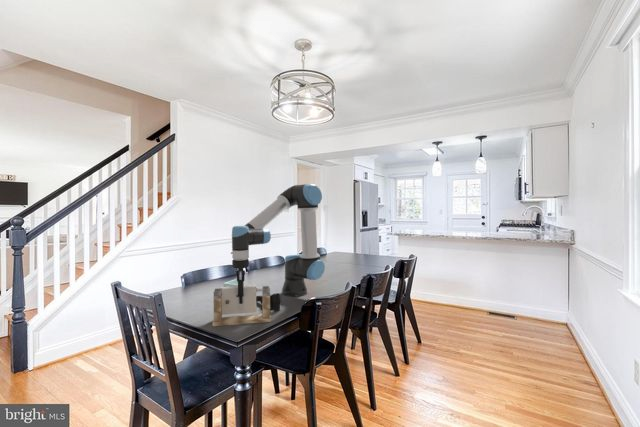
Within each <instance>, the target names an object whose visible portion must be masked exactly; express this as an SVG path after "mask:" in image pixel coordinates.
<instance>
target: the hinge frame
mask: <svg viewBox="0 0 640 427" xmlns="http://www.w3.org/2000/svg"><path fill="white" fill-rule="evenodd" d="M262 288H263V291H262V296H263V302H262V304H261V305H262V308H261V309H262V312H261V314H251V315H250V314H249V315H240V316H239V315H237V316H224V317H223V315H222V288H221V287H220V288H215V289H214V291H213V320H212V326H211V327H220V326H222V327H223V326H232V325H245V324H246V325H247V324H248V325H249V324H257V323H258V324H259V323H270V322H272V316H271V308H270V295H271V288H270V286H269V285H263V286H262Z"/></svg>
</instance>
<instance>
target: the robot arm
mask: <svg viewBox="0 0 640 427" xmlns="http://www.w3.org/2000/svg"><path fill="white" fill-rule="evenodd" d="M322 199H323V195H322V190H321V189H320V188H319V187H318V185H316V184H315V183H314V184H313V183H306V184H295V185H292V186H290V187H288V188H287V189H285V190H284V191H283V192H281V193H280V194H279V195H277V197H276V200H274V201H273V202H272V203H271V204H269V205H268V206H267V207H266V208H264V209H263V210H262V211H261V212H259V213H258V214H257V215H256V216H255V217H253V218H252V219H251V220H250V221H249V222H246V224H244V225H235V226H232V228H231V248H232V249H231V252H230V255H232V258H231V260H232V262H231V263H232V264H231V265H232V266H231V267H232V268H233V269H237V270H236V271H235V272H236V279H237V282H238V295H236V297H238V311H240V310H244V292H243V286H245V285H244V283H245V277H246V276H245V275H246V271H245V270H244V269H246V268H249V266H250V260H249V258H250V254H249V253H250V249H249V246H253V245H254V246H255V245H265V244H268V243H270V241H271V237H272V236H271V235H272V234H271V232H270V231H271V230H269V228H265V227H266V226H268V225H269V224H270V223H271V222H273V221H274V220H275V219H276V218H278V216H280V214H282V213H283V212H284V211H285V210H289V209H290V208H292V207H294V206H297V210H299V212H300V227H301V228H300V230H301V232H300V233H301V250H302V251H301V252H302V253H301V254H289V255H286V256H285V258H284V282H283V285H282V288H281V294H282V295H283V296H287V297H301V296H304V295H306V294H307V293H308V288H307V285H306V282H305V280H309V281H317V280H319V279H320V278H322V277H323V275H324V273H325V270H326V269H325V268H326V266H325V262H324V261H323V260H321V254H319V253H318V240H317V238H318V237H317V215H316V214H317V212H316V211H317V210H318V208H319V204H321V201H322Z"/></svg>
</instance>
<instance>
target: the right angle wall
mask: <svg viewBox="0 0 640 427" xmlns="http://www.w3.org/2000/svg"><path fill="white" fill-rule="evenodd" d="M230 286H238V282H237V278H235V279H232V280H229V281H227V282H223V286H222V287H230Z"/></svg>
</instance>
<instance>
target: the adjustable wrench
mask: <svg viewBox="0 0 640 427" xmlns="http://www.w3.org/2000/svg"><path fill="white" fill-rule="evenodd" d="M281 301H282V300H281V294H280V293H273V294H270V311H273V312H278V311H279V312H280V310H281ZM256 302H260V305H262V302H263V295H256Z"/></svg>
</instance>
